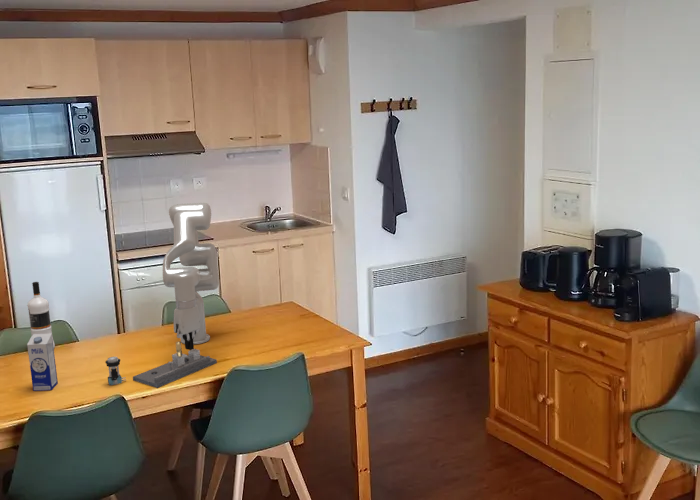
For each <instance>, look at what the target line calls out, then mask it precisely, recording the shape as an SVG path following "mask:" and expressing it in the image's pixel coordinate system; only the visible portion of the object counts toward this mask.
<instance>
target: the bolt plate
mask: <svg viewBox="0 0 700 500" xmlns="http://www.w3.org/2000/svg"><path fill="white" fill-rule="evenodd" d="M186 355H187V356H186V357H184V362H185V365H184V366H182V367H179V368H177V369H173V364H171V366H170V363H164V364H162V365H159V366H157V367H154V368H151V369H149V370H146V371H144V372H141V373H138V374H136V375H134V376H132V381H134V382H137V383H140V384H142V385H146V386H149V387H153V388H156V389H158V388H160V387H164V386H165V385H169V384H170V383H173V382H175V381H177V380H179V379H182V378H184V377H186V376H189V375H192V374H194V373H197V372H199V371H201V370H204V369H206V368H208V367H211V366H213V365H216V364H217V363H218V359H215V358H212V357H211V356H209V355H207V356H205V355H201V351H200V349H197V348H194V349H192V350H187V354H186ZM171 362H173V360H172V361H171Z"/></svg>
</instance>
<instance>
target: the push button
mask: <svg viewBox="0 0 700 500" xmlns="http://www.w3.org/2000/svg"><path fill="white" fill-rule="evenodd" d="M104 363H105V364H106V367H108V377H107V383H108V385H109V386H113V385H119V384H123V382H124V381H127V379H126V376H125V377H122V375H121V373H120V368H119V367H120V363H121V359H120V358H118V356H110V357H107V360H105V362H104Z"/></svg>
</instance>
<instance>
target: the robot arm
mask: <svg viewBox="0 0 700 500" xmlns="http://www.w3.org/2000/svg"><path fill="white" fill-rule="evenodd" d="M168 215H169V219H170V220H171V224H172V226H173V246H171V248H169V250H167V252H166V254H165V255H164V258H163V261H162V282H163V285H164V286H165V287H167V288H174V296H175V297H174V298H175V307H176V308H174V310H173V333H175V334H176V338H177V339H180V342H181V344H184V348H185V350H187V351H190V350H192V349H195V345H200V344H204V343H206V342H209V341H210V340H211V336H210V335H209V334H208V333H207V330H206V329H207V327H206V316H205V304H204V298H203V297H202V296H201V295H200V294H199V293H198V292H205V291H207V292H208V291H214V290H216V289H218V288H219V285H220V284H219V283H220V279H219V278H220V277H219V265H218V264H219V263H218V253H217V249H216V246H215V245H214V244H213V243H209V242H205V243H199V233H198V231H205V230H208V229H209V228H210V226H211V220H212V210H211V206H210V205H209V203H206V202H196V203H195V202H194V203H178V204H173V205H171V206H170V207H169V209H168ZM177 258H179V263H180V265H182V267H171V265H172V263H173V262H174V261H175V260H176V259H177ZM199 266H200V267H202V266H206V267H207V268H197V267H199Z"/></svg>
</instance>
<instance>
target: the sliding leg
mask: <svg viewBox="0 0 700 500" xmlns="http://www.w3.org/2000/svg"><path fill="white" fill-rule="evenodd" d="M175 350H176V352H175V353H173V354H171V357H172V361H173V362H172V361H168V363H170V366H171V364H173V369H177V368H179V367H182V366H184V365H185V362H184V357H186V356H187V355H188V354H185V353H183V350H182V342H181V341H176V342H175Z"/></svg>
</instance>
